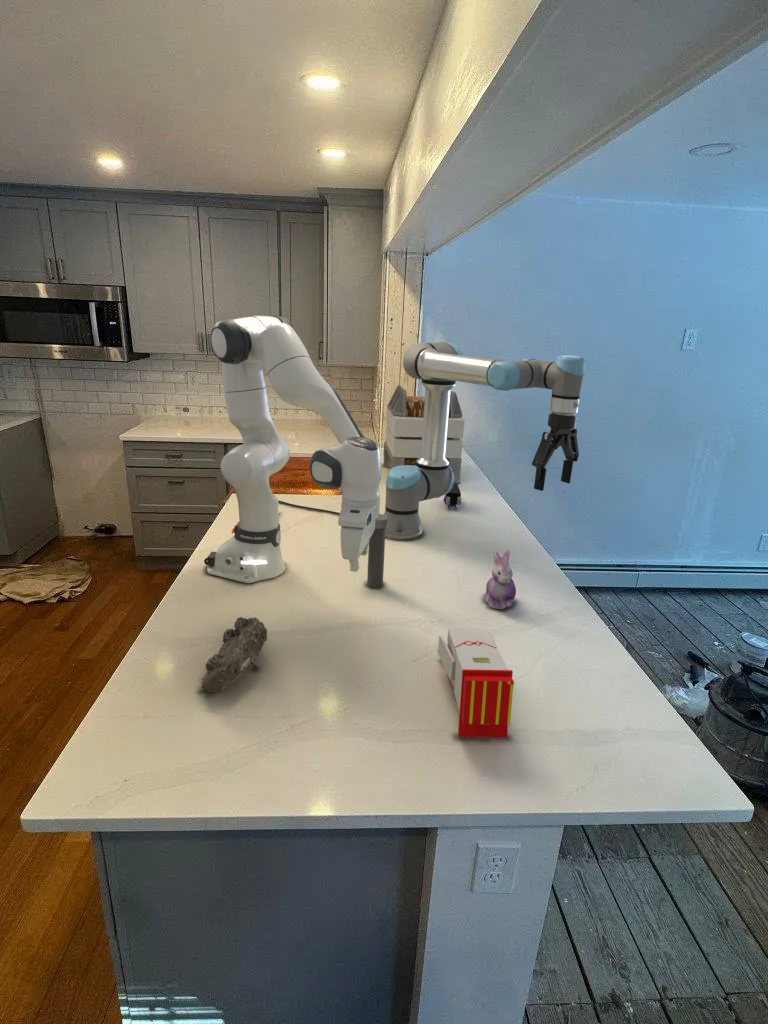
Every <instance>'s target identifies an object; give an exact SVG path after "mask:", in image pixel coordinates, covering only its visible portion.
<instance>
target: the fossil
mask: <svg viewBox="0 0 768 1024" xmlns="http://www.w3.org/2000/svg"><path fill="white" fill-rule="evenodd" d="M265 626H266V625H265V624H264V622H262V621H260V620H259V619H258V618H257V617H248V618H245V617H241V616H239V617H238V618H236V620H235V622H234V625H233V627H234V628H228V629H226V630H225V631H224V632H223V634H222V642H223V643H222V645H221V647H219V648H220V649H219V650H218V653H215V654H212V656H211V657H210V658H208V660H207V661H206V662H205V663H206V664H205V670H206V671H207V672H205V674H204V676H203V677H201V686H202V687H201V688H202V691H204V692H207V693H210V694H212V693H213V694H214V693H216V692H222V691H225V690H226V689H227V688H228V687H229V686H230V685H232V684H233V683H234V682H235V681H236V680H237V679H238V678H239V677H240V676H241V675H242V674H243V673H245V671H247V668H248V666H249V665H251V666H252V667H253V668H254V669H257V665H256V664H255V663H254V661H253V660H254V659H255V657H257V656H259V654H260V653H261V652H262V649H263V647H264V646H265V643H266V642H267V641H268V629H267V628H266V627H265Z"/></svg>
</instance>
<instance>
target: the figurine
mask: <svg viewBox="0 0 768 1024" xmlns="http://www.w3.org/2000/svg"><path fill="white" fill-rule="evenodd" d="M510 555H511V551H510V550H509V549H506V550H505V552H504V553H503V555H502V557H501V555H500V553H499V552H498V551H497V550H494V551H493V558H494V559H493V562H494V565H493V568H492V570H491V575H492V577H490V578H489V579H488V580H487V583H486V586H485V589H486V590H485V594H484V596H485V597H484V599H485V602H486V603H487V604H488V607H490V608H492V609H498V610H504V609H505V608H510V607H511V606H512V605H513V603H514V602H515V597H516V596H517V595H516V594H517V588H516V584H515V581H514V580H513V576H514V575H513V574H514V573H513V570H512V567H511V565H510Z"/></svg>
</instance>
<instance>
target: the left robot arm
mask: <svg viewBox="0 0 768 1024" xmlns="http://www.w3.org/2000/svg"><path fill="white" fill-rule="evenodd" d="M209 339H210V346H211V350H212V352H213V354H214V356H215V357H216V358H217V359H218V360H219V362H221V377H222V380H221V381H222V388H223V393H224V399H225V405H226V410H227V416H228V420H229V422H230V423H231V425H233V426H234V427H236V429H237V430H238V431H239V433H240V435H241V438H242V441H243V443H241V444H240V445H237V446H234V447H233V448H231V450H230V451H228V452H227V453H226V454H225V455H224V456H223V457H222V458H221V461H220V473H221V476H222V477H223V478H224V480H225V482H227V483H228V484H229V485H231V487H232V488H233V490H234V493H235V495H236V498H237V499H236V500H237V504H238V505H237V506H238V519H239V521H237V523H236V525H234V526H233V528H232V529H231V530H230V531H231V535H232V534H234V535H233V536H231V537H230V538H229V539H227V540H226V541H225V542H224V543H222V544H220V546H219V547H218V548H217V550H216V551H210V553H209V554H208V556H207V557H206V558H204V560H203V562H204V564H205V565H206V566H207V568H206V572H207V574H209V575H213V576H216V577H221V578H225V579H229V580H233V581H237V582H241V583H244V584H252V583H256V582H259V581H263V580H270V579H274V578H276V577H278V576H280V575H282V574H283V573H284V572H285V570H286V566H285V562H284V560H283V555H282V548H281V542H282V541H281V539H282V532H281V524H280V521H279V516H278V514H279V502H278V501H279V500H278V497H277V496H276V495H275V494H274V493H273V491H272V489H271V486H270V477H271V476H273V475H275V474H276V473H278V472H280V471H281V470H282V469H283V468H284V467H285V466H286V465H287V463H288V462H289V460H290V456H291V451H290V447H289V445H288V443H287V442H286V441H285V440H284V439H283V438H282V437H281V436H280V434H279V432H278V430H277V428H276V426H275V423H274V421H273V418H272V414H271V408H270V404H269V398H268V392H267V391H268V390H267V386H266V385H267V384H266V380H265V376H264V370H265V373H266V375H267V378H268V380H269V382H270V385H271V386H272V389H273V390H274V392H275V393H276V395H277V396H278V397H279V399H280V400H282V401H283V402H285V403H286V404H289V405H291V406H294V407H298V408H303V409H305V410H306V409H307V410H309V411H312V412H314V413H317V414H318V415H319V416H321V417H322V418H323V419H324V420H325V421H326V422H327V424H328V426H329V428H330V429H331V431H332V433H333V435H334V436H335V438H336V440H337V442H338V443H339V444H335V445H331V446H327V447H324V448H320V449H318V450H316V451H314V453H313V454H312V455H311V457H310V460H309V473H310V476H311V479H312V480H313V482H314V483H315V485H317V486H319V487H320V488H322V489H327V490H329V489H330V490H337V489H339V490H340V491H341V506H340V512H339V513H340V515H338V520H337V524H338V526H341V527H340V551H341V552H340V553H341V557H342V559H344V560H348V561H349V570H350V571H351V572H354V573H357V572H358V571H359V569H360V562H359V559H360V557H361V556H367V555H368V549H369V540H370V538H371V536H372V534H373V532H374V530H375V519H376V518H378V517H379V514H380V509H381V508H380V507H381V492H380V483H381V479H382V457H381V456H382V455H381V451H380V450H381V449H380V447H379V445H378V443H376V442H375V441H374V439H371V438H368V437H365V435H364V434H363V433H362V431H361V430H360V428H359V427H358V425H357V423H356V421H355V420H354V418H353V416H352V415H351V413H350V411H349V410H348V408H347V407H346V405H345V403H344V402H343V400H342V398H341V397H340V395H339V394H338V392H337V391H336V389H335V388H333V386H332V385H330V384H329V383H328V382H327V381H326V380H325V378H324V377H322V375H321V374H320V373H319V371H318V370H317V368H316V366H315V364H314V363H313V360H312V358H311V356H310V354H309V352H308V350H307V348H306V346H305V344H304V343H303V341H302V340H301V338H300V336H299V335H298V334H297V331H296V330H295V328H294V325H293V324H292V322H291V321H290V320H289V319H288V318H286V317H283V316H280V315H269V316H268V315H250V316H245V317H238V318H234V319H231V318H227V319H223V320H220V321H217V322H216V323H214V325H213V327H212V329H211V332H210V338H209Z"/></svg>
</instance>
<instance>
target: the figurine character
mask: <svg viewBox="0 0 768 1024" xmlns="http://www.w3.org/2000/svg"><path fill="white" fill-rule="evenodd" d="M442 500H443V502H444V504H445V506H447V509H448V510H451V508H453V507H454V510H457V509H458V507H459V506H461V505H462V492H461V490H460V486H459V483H454V484H453V487H452V489H451V490H450V491H449V492H448V493H447V494H445V495H443V499H442ZM450 507H451V508H450Z"/></svg>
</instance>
